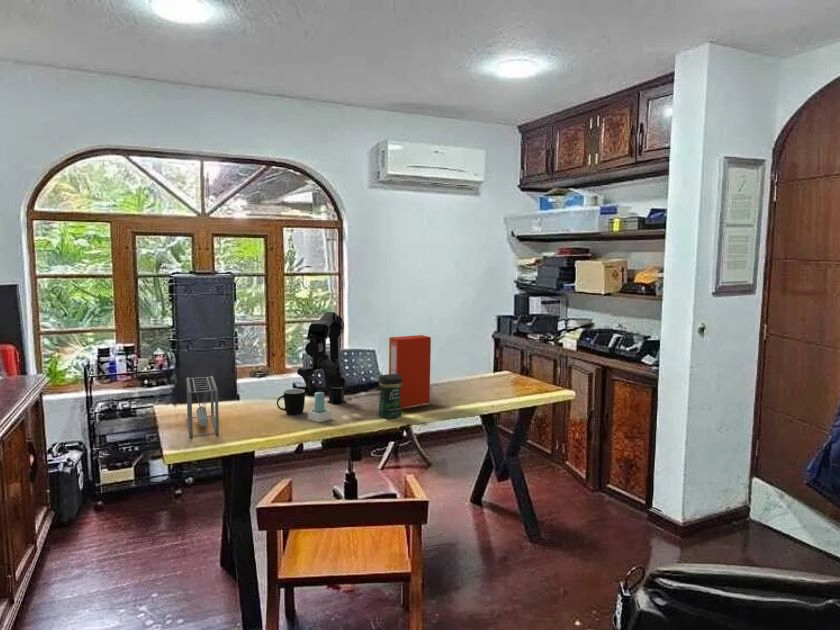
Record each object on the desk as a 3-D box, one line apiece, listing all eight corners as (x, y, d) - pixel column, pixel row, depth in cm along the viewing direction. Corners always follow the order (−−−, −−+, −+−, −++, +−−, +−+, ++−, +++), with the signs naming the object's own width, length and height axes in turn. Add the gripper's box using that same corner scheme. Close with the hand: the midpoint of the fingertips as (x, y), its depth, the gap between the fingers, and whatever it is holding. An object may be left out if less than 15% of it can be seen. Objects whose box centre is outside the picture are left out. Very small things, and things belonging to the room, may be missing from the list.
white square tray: (320, 416, 250) (320, 407, 249) (331, 419, 245) (331, 410, 245) (308, 420, 244) (307, 411, 244) (319, 423, 240) (318, 413, 240)
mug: (303, 410, 259) (303, 388, 258) (306, 415, 251) (306, 392, 250) (275, 412, 255) (275, 389, 254) (278, 418, 247) (277, 394, 246)
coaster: (353, 413, 255) (353, 412, 255) (370, 418, 249) (370, 416, 249) (336, 418, 247) (336, 417, 247) (353, 423, 241) (353, 421, 241)
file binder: (429, 405, 270) (430, 337, 267) (397, 410, 261) (397, 339, 258) (420, 401, 277) (421, 334, 273) (388, 406, 268) (389, 337, 265)
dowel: (320, 417, 248) (319, 391, 246) (326, 418, 245) (326, 393, 244) (312, 419, 244) (312, 393, 243) (319, 420, 242) (319, 394, 241)
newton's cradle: (187, 417, 246) (186, 376, 244) (213, 415, 250) (212, 374, 248) (189, 439, 219) (188, 392, 217) (219, 435, 223) (218, 390, 221)
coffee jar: (384, 420, 245) (384, 377, 243) (375, 416, 252) (376, 373, 250) (404, 417, 250) (404, 374, 248) (395, 413, 257) (395, 371, 255)
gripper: (314, 357, 230) (315, 396, 231) (349, 351, 244) (349, 388, 246) (296, 354, 237) (296, 392, 238) (330, 349, 251) (330, 384, 253)
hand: (319, 389), depth 243 cm, fingers open, 9 cm apart
